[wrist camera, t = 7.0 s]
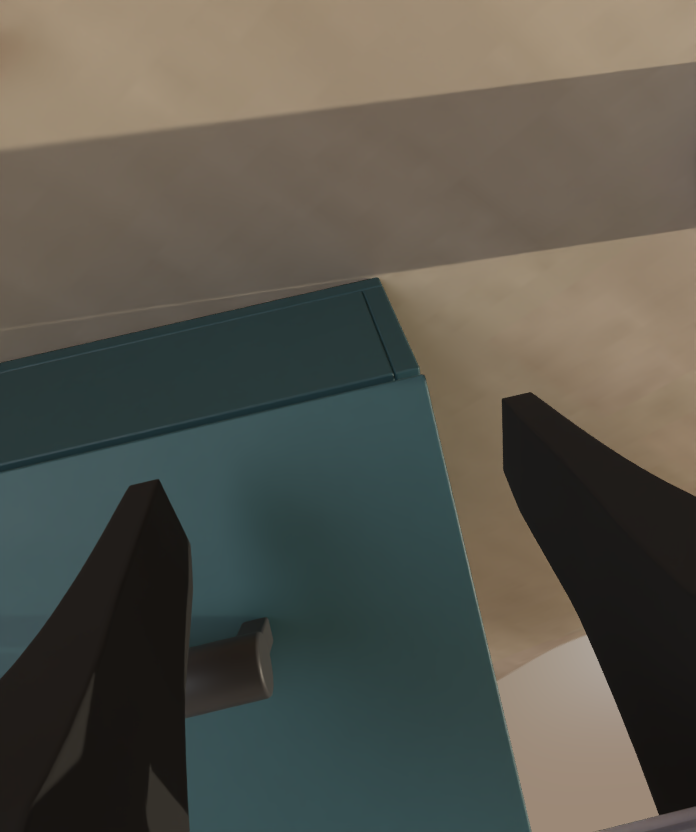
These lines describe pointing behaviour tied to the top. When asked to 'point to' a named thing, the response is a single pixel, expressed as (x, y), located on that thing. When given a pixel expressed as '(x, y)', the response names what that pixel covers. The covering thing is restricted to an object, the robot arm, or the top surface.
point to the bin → (199, 372)
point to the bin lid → (300, 613)
